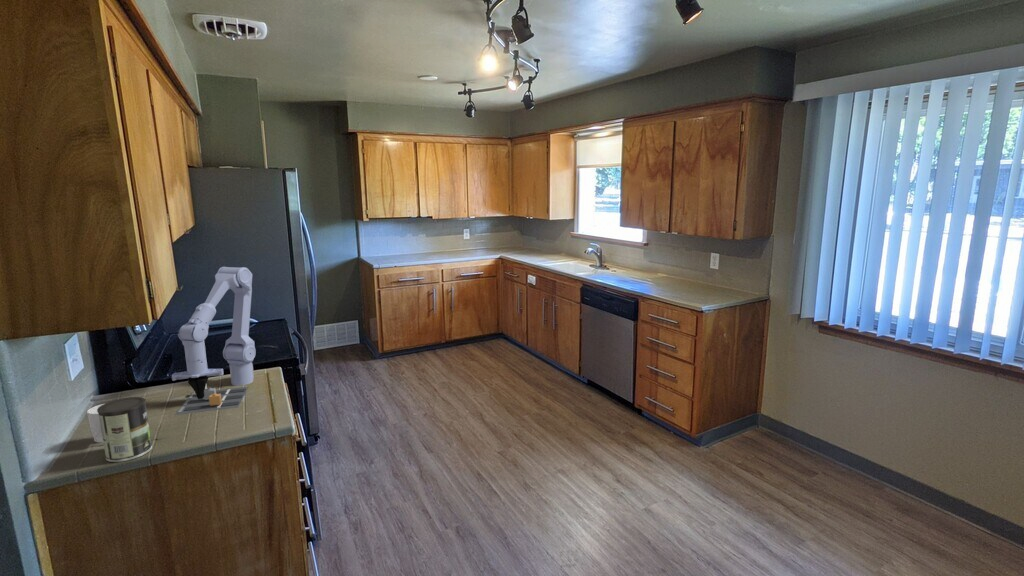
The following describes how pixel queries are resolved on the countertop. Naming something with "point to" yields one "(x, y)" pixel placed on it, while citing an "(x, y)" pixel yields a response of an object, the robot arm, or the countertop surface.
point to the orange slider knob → (215, 399)
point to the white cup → (95, 423)
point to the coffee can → (125, 429)
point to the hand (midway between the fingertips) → (200, 397)
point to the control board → (229, 400)
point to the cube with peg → (209, 392)
